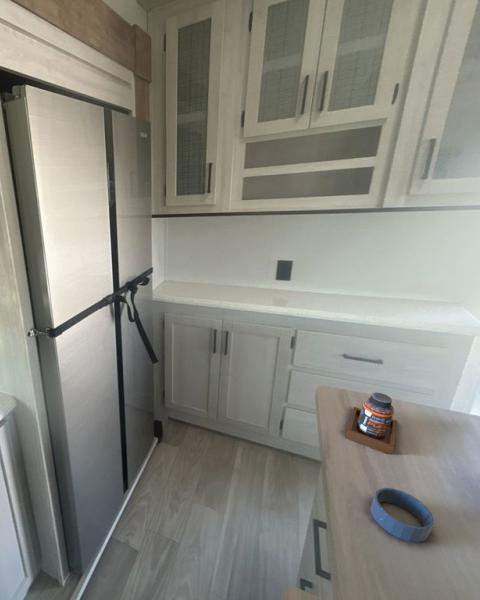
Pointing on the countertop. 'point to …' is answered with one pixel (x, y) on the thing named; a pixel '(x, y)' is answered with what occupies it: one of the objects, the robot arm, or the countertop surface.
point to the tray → (378, 444)
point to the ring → (395, 525)
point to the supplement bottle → (376, 415)
